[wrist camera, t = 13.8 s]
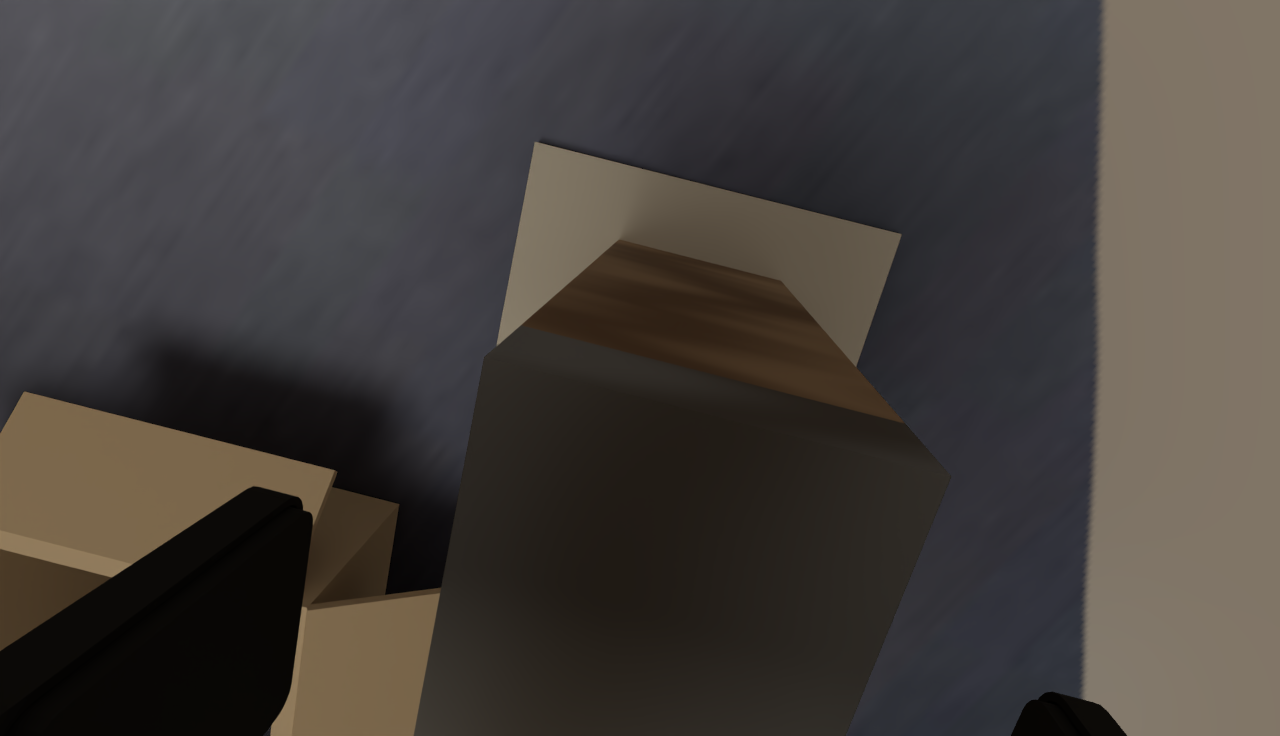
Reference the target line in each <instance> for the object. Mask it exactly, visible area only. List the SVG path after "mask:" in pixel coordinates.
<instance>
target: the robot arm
mask: <svg viewBox="0 0 1280 736" xmlns="http://www.w3.org/2000/svg"><path fill="white" fill-rule="evenodd" d="M312 528H313V516H312V514H311V513H310V512H308V511H304V510H303V504H302V500H301V499H300V498H299V497H297V496H293V495H289V494H285V493H281V492H277V491H274V490H270V489H266V488H262V487H257V486H252V487H250V488H248V489H246V490H244V491H243V492H241V493H240V494H238V495H237V496H235V497H234V498H232V499H231V500H229V501H228V502H226V503H225V504H223V505H222V506H220V507H219V508H217V509H215V510H214V511H212V512H211V513H209V514H208V515H206V516H205V517H203V518H202V519H200V520H199V521H197V522H196V523H194V524H193V525H191V526H190V527H188V528H187V529H185V530H184V531H182V532H180V533H179V534H177V535H176V536H174V537H173V538H171V539H170V540H168V541H167V542H165V543H164V544H162V545H161V546H159V547H158V548H156V549H155V550H153V551H152V552H150V553H148V554H147V555H145V556H144V557H142V558H141V559H139V560H138V561H136V562H135V563H133V564H132V565H130V566H129V567H127V568H126V569H124V570H123V571H121V572H120V573H118V574H117V575H115V576H113V577H112V578H110V579H109V580H107V581H106V582H104V583H103V584H101V585H100V586H98V587H97V588H95V589H94V590H92V591H91V592H89V593H88V594H86V595H85V596H83V597H82V598H80V599H78V600H77V601H75V602H74V603H72V604H71V605H69V606H68V607H66V608H65V609H63V610H62V611H60V612H59V613H57V614H56V615H54V616H53V617H51V618H50V619H48V620H46V621H45V622H43V623H42V624H40V625H39V626H37V627H36V628H34V629H33V630H31V631H30V632H28V633H27V634H25V635H24V636H22V637H21V638H19V639H18V640H16V641H15V642H13V643H11V644H10V645H8V646H7V647H5V648H4V649H2V650H1V651H0V736H263V735H264V734H265V732H266V731H267V730H268V729H269V727H270V726H271V725H272V724H273V722H274V721H275V720H276V718H277V717H278V716H279V714H280V713H281V711H282V709H283V707H284V705H285V703H286V701H287V698H288V696H289V693H290V689H291V684H292V677H293V670H294V662H295V655H296V648H297V640H298V633H299V625H300V618H301V610H302V603H303V595H304V588H305V580H306V573H307V565H308V558H309V550H310V543H311V535H312ZM1011 736H1127V735H1126V734H1125V733H1124V731H1123V730H1122V729H1121V728H1120V726H1119V725H1118V724H1117V723H1116V721H1115V720H1114V719H1113V718H1112V716H1111V715H1110V714H1109V713H1108V712H1107V711H1106V710H1105V709H1104V708H1103V707H1102V706H1101V705H1099V704H1096V703H1093V702H1090V701H1086V700H1082V699H1078V698H1074V697H1071V696H1067V695H1063V694H1059V693H1055V692H1047V693H1044V694H1043V695H1042V696H1040V697H1039V699H1038V700H1031V701H1030V702H1028V703H1027V704H1026V705H1025V707H1024V709H1023V710H1022V713H1021V715H1020V717H1019V719H1018V721H1017V723H1016V726H1015V728H1014V730H1013V732H1012V734H1011Z"/></svg>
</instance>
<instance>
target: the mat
mask: <svg viewBox="0 0 1280 736" xmlns="http://www.w3.org/2000/svg"><path fill="white" fill-rule="evenodd" d="M901 235H902V234H899V233H895V232H891V231H887V230H883V229H879V228H875V227H871V226H867V225H863V224H859V223H855V222H851V221H847V220H843V219H839V218H835V217H831V216H827V215H823V214H819V213H815V212H811V211H807V210H803V209H800V208H796V207H792V206H788V205H784V204H780V203H776V202H772V201H768V200H764V199H760V198H756V197H752V196H748V195H744V194H740V193H736V192H732V191H728V190H724V189H720V188H716V187H712V186H708V185H704V184H700V183H696V182H693V181H689V180H685V179H681V178H677V177H673V176H669V175H665V174H661V173H657V172H653V171H649V170H645V169H641V168H637V167H633V166H629V165H625V164H621V163H617V162H613V161H609V160H605V159H601V158H597V157H593V156H589V155H585V154H582V153H578V152H574V151H570V150H566V149H562V148H558V147H554V146H550V145H546V144H542V143H538V142H535V144H534V150H533V155H532V160H531V166H530V171H529V176H528V182H527V187H526V192H525V197H524V203H523V208H522V213H521V219H520V224H519V229H518V235H517V240H516V245H515V250H514V256H513V261H512V266H511V272H510V277H509V282H508V288H507V293H506V298H505V303H504V309H503V314H502V319H501V325H500V330H499V335H498V341H497V346H498V345H499V344H500V343H501V342H502V341H503V340H504V339H506V338H507V337H508V336H509V335H510V334H511V333H512V332H514V331H515V330H516V329H517V328H518V327H519V326H520V325H522V324H523V323H524V322H525V321H526V320H527V319H528V318H530V317H531V316H532V315H533V314H534V313H535V312H537V311H538V310H539V309H540V308H541V307H542V306H543V305H545V304H546V303H547V302H548V301H549V300H550V299H551V298H553V297H554V296H555V295H556V294H557V293H558V292H559V291H561V290H562V289H563V288H564V287H565V286H566V285H567V284H569V283H570V282H571V281H572V280H573V279H574V278H575V277H577V276H578V275H579V274H580V273H581V272H582V271H583V270H585V269H586V268H587V267H588V266H589V265H590V264H591V263H593V262H594V261H595V260H596V259H597V258H598V257H599V256H601V255H602V254H603V253H604V252H605V251H606V250H607V249H609V248H610V247H611V246H612V245H613V244H614V243H615V242H617V241H618V240H619V239H620V240H623V241H627V242H631V243H635V244H639V245H643V246H647V247H651V248H655V249H659V250H663V251H667V252H671V253H674V254H678V255H682V256H686V257H690V258H694V259H698V260H702V261H706V262H710V263H714V264H718V265H721V266H725V267H729V268H733V269H737V270H741V271H745V272H749V273H753V274H757V275H761V276H765V277H768V278H772V279H776V280H780V281H782V283H783V284H784V285H785V286H786V287H787V288H788V289H789V291H790V292H791V293H792V294H793V295H794V296H795V297H796V299H797V300H798V301H799V302H800V303H801V304H802V306H803V307H804V308H805V309H806V310H807V311H808V312H809V314H810V315H811V316H812V317H813V318H814V319H815V320H816V322H817V323H818V324H819V325H820V326H821V327H822V329H823V330H824V331H825V332H826V333H827V334H828V335H829V337H830V338H831V339H832V340H833V341H834V342H835V343H836V345H837V346H838V347H839V348H840V349H841V350H842V352H843V353H844V354H845V355H846V356H847V357H848V358H849V360H850V361H851V362H852V363H853V364H854V365H855V366H857V363H858V360H859V357H860V354H861V351H862V348H863V346H864V343H865V340H866V337H867V334H868V331H869V328H870V325H871V322H872V319H873V317H874V314H875V311H876V308H877V305H878V302H879V299H880V296H881V293H882V291H883V288H884V285H885V282H886V279H887V276H888V273H889V270H890V267H891V264H892V262H893V259H894V256H895V253H896V250H897V247H898V244H899V241H900V238H901Z"/></svg>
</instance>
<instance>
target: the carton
mask: <svg viewBox="0 0 1280 736" xmlns="http://www.w3.org/2000/svg"><path fill="white" fill-rule="evenodd" d="M337 473H338V472H337V471H335V470H331V469H327V468H324V467H320V466H316V465H312V464H308V463H304V462H300V461H296V460H292V459H288V458H284V457H280V456H276V455H272V454H268V453H264V452H261V451H257V450H253V449H249V448H245V447H241V446H237V445H233V444H229V443H225V442H221V441H217V440H213V439H209V438H205V437H201V436H198V435H194V434H190V433H186V432H182V431H178V430H174V429H170V428H166V427H162V426H158V425H154V424H150V423H146V422H142V421H138V420H135V419H131V418H127V417H123V416H119V415H115V414H111V413H107V412H103V411H99V410H95V409H91V408H87V407H83V406H79V405H75V404H72V403H68V402H64V401H60V400H56V399H52V398H48V397H44V396H40V395H36V394H32V393H28V392H24V393H23V394H22V396H21V398H20V400H19V402H18V403H17V405H16V407H15V409H14V410H13V412H12V414H11V416H10V417H9V419H8V421H7V423H6V425H5V426H4V428H3V430H2V432H1V433H0V651H1V650H2V649H4V648H5V647H7V646H8V645H10V644H11V643H13V642H15V641H16V640H18V639H19V638H21V637H22V636H24V635H25V634H27V633H28V632H30V631H31V630H33V629H34V628H36V627H37V626H39V625H40V624H42V623H43V622H45V621H46V620H48V619H50V618H51V617H53V616H54V615H56V614H57V613H59V612H60V611H62V610H63V609H65V608H66V607H68V606H69V605H71V604H72V603H74V602H75V601H77V600H78V599H80V598H82V597H83V596H85V595H86V594H88V593H89V592H91V591H92V590H94V589H95V588H97V587H98V586H100V585H101V584H103V583H104V582H106V581H107V580H109V579H110V578H112V577H113V576H115V575H117V574H118V573H120V572H121V571H123V570H124V569H126V568H127V567H129V566H130V565H132V564H133V563H135V562H136V561H138V560H139V559H141V558H142V557H144V556H145V555H147V554H148V553H150V552H152V551H153V550H155V549H156V548H158V547H159V546H161V545H162V544H164V543H165V542H167V541H168V540H170V539H171V538H173V537H174V536H176V535H177V534H179V533H180V532H182V531H184V530H185V529H187V528H188V527H190V526H191V525H193V524H194V523H196V522H197V521H199V520H200V519H202V518H203V517H205V516H206V515H208V514H209V513H211V512H212V511H214V510H215V509H217V508H219V507H220V506H222V505H223V504H225V503H226V502H228V501H229V500H231V499H232V498H234V497H235V496H237V495H238V494H240V493H241V492H243V491H244V490H246V489H248V488H250V487H252V486H257V487H262V488H266V489H270V490H274V491H277V492H281V493H285V494H289V495H293V496H297V497H299V498H300V499H301V500H302V504H303V510H304V511H308V512H310V513H311V514H312V516H313V528H312V535H311V543H310V550H309V558H308V565H307V573H306V580H305V588H304V595H303V603H302V610H301V618H300V625H299V633H298V640H297V648H296V655H295V662H294V670H293V677H292V684H291V689H290V693H289V696H288V698H287V701H286V703H285V705H284V707H283V709H282V711H281V713H280V714H279V716H278V717H277V718H276V720H275V721H274V722H273V724H272V726H271V735H270V736H414V730H415V725H416V720H417V714H418V709H419V704H420V698H421V693H422V688H423V682H424V677H425V671H426V666H427V661H428V655H429V650H430V645H431V639H432V634H433V629H434V623H435V618H436V613H437V607H438V602H439V597H440V591H441V588H435V589H427V590H419V591H411V592H404V593H396V594H388V595H385V592H386V586H387V579H388V573H389V567H390V560H391V554H392V548H393V541H394V535H395V529H396V522H397V516H398V510H399V504H397V503H393V502H389V501H385V500H381V499H377V498H373V497H369V496H365V495H361V494H358V493H354V492H350V491H346V490H342V489H338V488H334V487H332V485H333V483H334V480H335V478H336V475H337Z"/></svg>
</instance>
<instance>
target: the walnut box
mask: <svg viewBox="0 0 1280 736" xmlns="http://www.w3.org/2000/svg"><path fill="white" fill-rule="evenodd" d="M950 479H951V476H950V475H949V473H948V472H947V471H946V470H945V469H944V468H943V467H942V465H941V464H940V463H939V462H938V461H937V460H936V459H935V457H934V456H933V455H932V454H931V453H930V452H929V450H928V449H927V448H926V447H925V446H924V445H923V444H922V442H921V441H920V440H919V439H918V438H917V437H916V435H915V434H914V433H913V432H912V431H911V430H910V429H909V427H908V426H907V425H906V424H905V423H904V422H903V421H902V419H901V418H900V417H899V416H898V415H897V414H896V412H895V411H894V410H893V409H892V408H891V407H890V406H889V404H888V403H887V402H886V401H885V400H884V399H883V398H882V396H881V395H880V394H879V393H878V392H877V391H876V389H875V388H874V387H873V386H872V385H871V384H870V383H869V381H868V380H867V379H866V378H865V377H864V376H863V375H862V373H861V372H860V371H859V370H858V369H857V368H856V366H855V365H854V364H853V363H852V362H851V361H850V360H849V358H848V357H847V356H846V355H845V354H844V353H843V352H842V350H841V349H840V348H839V347H838V346H837V345H836V343H835V342H834V341H833V340H832V339H831V338H830V337H829V335H828V334H827V333H826V332H825V331H824V330H823V329H822V327H821V326H820V325H819V324H818V323H817V322H816V320H815V319H814V318H813V317H812V316H811V315H810V314H809V312H808V311H807V310H806V309H805V308H804V307H803V306H802V304H801V303H800V302H799V301H798V300H797V299H796V297H795V296H794V295H793V294H792V293H791V292H790V291H789V289H788V288H787V287H786V286H785V285H784V284H783V283H782V281H780V280H776V279H772V278H768V277H765V276H761V275H757V274H753V273H749V272H745V271H741V270H737V269H733V268H729V267H725V266H721V265H718V264H714V263H710V262H706V261H702V260H698V259H694V258H690V257H686V256H682V255H678V254H674V253H671V252H667V251H663V250H659V249H655V248H651V247H647V246H643V245H639V244H635V243H631V242H627V241H623V240H620V239H619V240H618V241H617V242H615V243H614V244H613V245H612V246H611V247H610V248H609V249H607V250H606V251H605V252H604V253H603V254H602V255H601V256H599V257H598V258H597V259H596V260H595V261H594V262H593V263H591V264H590V265H589V266H588V267H587V268H586V269H585V270H583V271H582V272H581V273H580V274H579V275H578V276H577V277H575V278H574V279H573V280H572V281H571V282H570V283H569V284H567V285H566V286H565V287H564V288H563V289H562V290H561V291H559V292H558V293H557V294H556V295H555V296H554V297H553V298H551V299H550V300H549V301H548V302H547V303H546V304H545V305H543V306H542V307H541V308H540V309H539V310H538V311H537V312H535V313H534V314H533V315H532V316H531V317H530V318H528V319H527V320H526V321H525V322H524V323H523V324H522V325H520V326H519V327H518V328H517V329H516V330H515V331H514V332H512V333H511V334H510V335H509V336H508V337H507V338H506V339H504V340H503V341H502V342H501V343H500V344H499V345H498V346H496V347H495V348H494V349H493V350H492V351H491V352H490V353H488V354H487V355H486V356H485V357H484V361H483V366H482V372H481V377H480V382H479V388H478V393H477V399H476V404H475V409H474V415H473V420H472V425H471V431H470V436H469V441H468V447H467V452H466V457H465V463H464V468H463V473H462V479H461V484H460V490H459V495H458V500H457V506H456V511H455V516H454V522H453V527H452V532H451V538H450V543H449V548H448V554H447V559H446V564H445V570H444V575H443V580H442V586H441V591H440V597H439V602H438V607H437V613H436V618H435V623H434V629H433V634H432V639H431V645H430V650H429V655H428V661H427V666H426V671H425V677H424V682H423V688H422V693H421V698H420V704H419V709H418V714H417V720H416V725H415V730H414V736H846V733H847V731H848V728H849V726H850V723H851V721H852V719H853V716H854V714H855V711H856V709H857V706H858V704H859V701H860V699H861V697H862V694H863V692H864V689H865V687H866V684H867V682H868V679H869V677H870V675H871V672H872V670H873V667H874V665H875V662H876V660H877V657H878V655H879V652H880V650H881V648H882V645H883V643H884V640H885V638H886V635H887V633H888V630H889V628H890V626H891V623H892V621H893V618H894V616H895V613H896V611H897V608H898V606H899V603H900V601H901V599H902V596H903V594H904V591H905V589H906V586H907V584H908V581H909V579H910V577H911V574H912V572H913V569H914V567H915V564H916V562H917V559H918V557H919V555H920V552H921V550H922V547H923V545H924V542H925V540H926V537H927V535H928V532H929V530H930V528H931V525H932V523H933V520H934V518H935V515H936V513H937V510H938V508H939V506H940V503H941V501H942V498H943V496H944V493H945V491H946V488H947V486H948V483H949V481H950Z"/></svg>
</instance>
